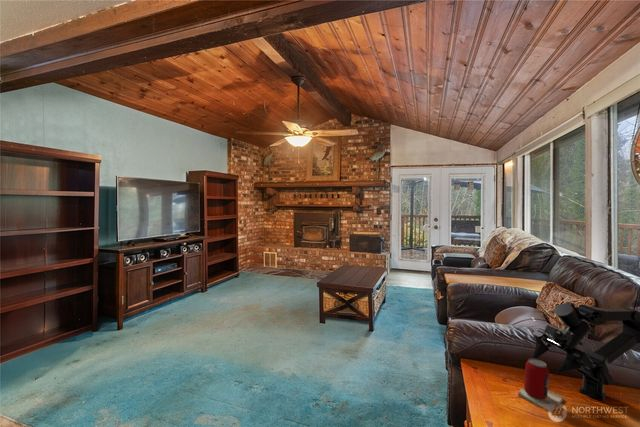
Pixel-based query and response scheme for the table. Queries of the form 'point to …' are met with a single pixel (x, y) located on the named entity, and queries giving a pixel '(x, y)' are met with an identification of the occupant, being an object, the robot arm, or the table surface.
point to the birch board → (546, 403)
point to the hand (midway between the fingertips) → (545, 364)
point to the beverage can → (536, 378)
